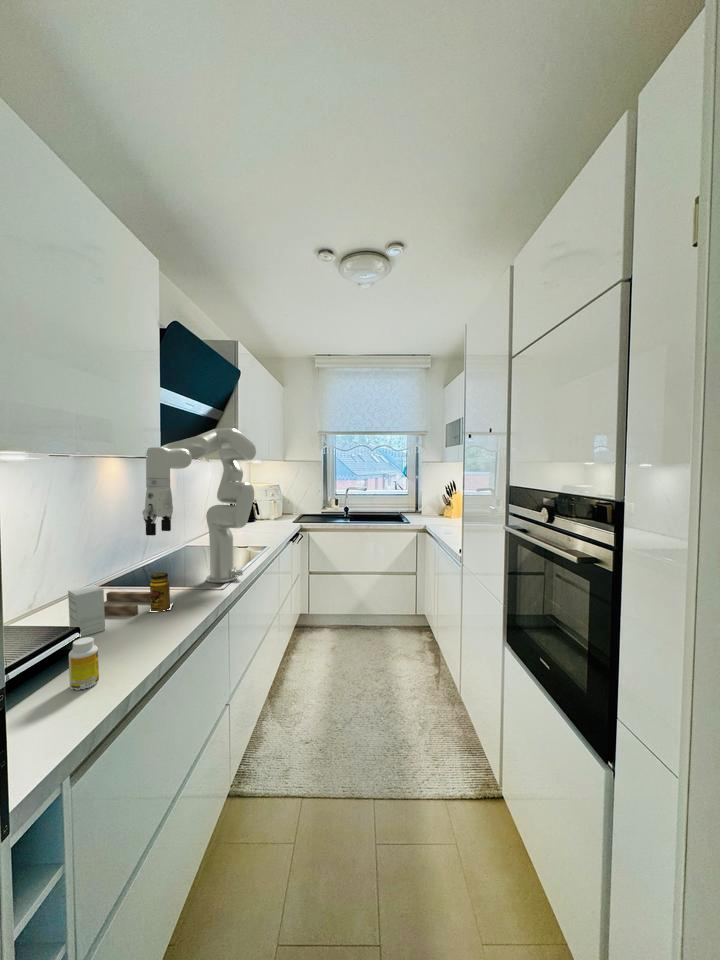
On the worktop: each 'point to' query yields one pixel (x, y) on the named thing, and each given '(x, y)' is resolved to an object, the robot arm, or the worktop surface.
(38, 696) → the worktop surface
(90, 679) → the supplement bottle
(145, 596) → the channel
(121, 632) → the worktop surface
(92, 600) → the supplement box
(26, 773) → the worktop surface
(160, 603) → the yellow and black cylinder
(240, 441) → the robot arm
